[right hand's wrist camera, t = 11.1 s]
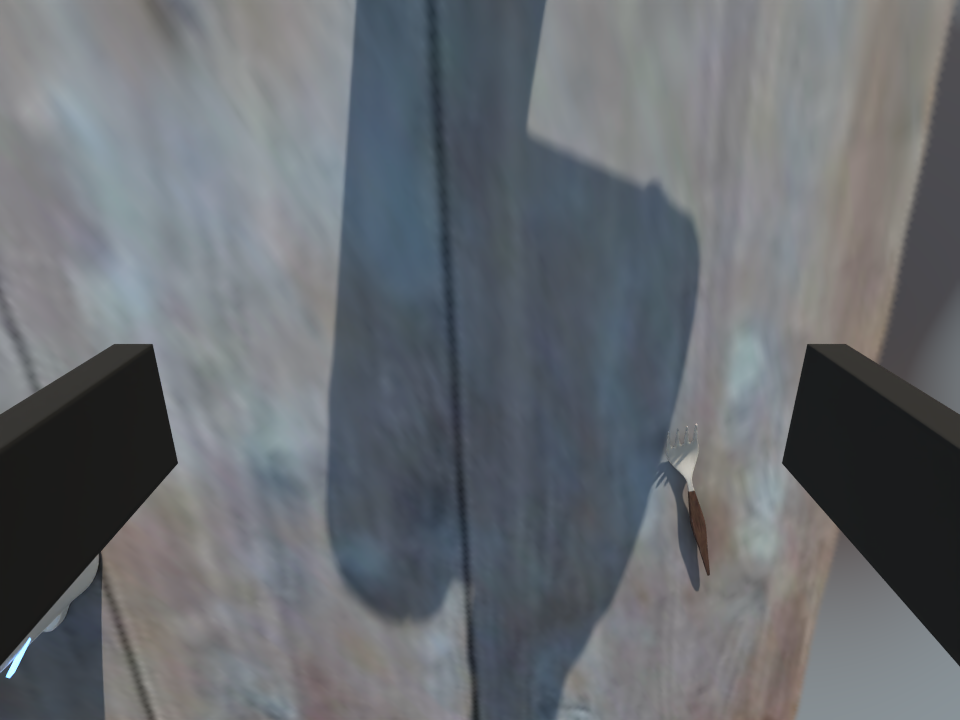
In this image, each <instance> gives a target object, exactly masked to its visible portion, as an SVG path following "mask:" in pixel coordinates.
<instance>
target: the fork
mask: <svg viewBox="0 0 960 720" xmlns="http://www.w3.org/2000/svg"><path fill="white" fill-rule="evenodd" d="M669 433H670V432H669V431H668V435H667V444H666V456H667V459H668V460H669V462H670V463H671V464H672V466H673V467H674V468H676V469H677V470H678V471H679V472H680V473H681V474H682V475H683V476H684V478H685V479H686V481H687V486H688V499H689V514H690V522H691V527H692V530H693V533H694V536H695V539H696V542H697V545H698V547H699V550H700V553H701V556H702V560H703V563H704V566H705V569H706V572H707V575H710V570H709V560H708V549H707V534H706V525H705V521H704V517H703V514H702V511H701V508H700V505H699V502H698V499H697V496H696V494H695V491H694V488H693V484H692V474H693V470H694V467H695V464H696V461H697V457H698V452H699V445H698V438H697V424H696V425H695V430H694V435H693V441H692V442H689V439H688V427H686V431H685V438H684V443H683V444H682V445H681V444H680V441H679V430H678V429H677V433H676V440H675V446H674V447H671V443H670V434H669Z"/></svg>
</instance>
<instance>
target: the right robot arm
mask: <svg viewBox="0 0 960 720" xmlns="http://www.w3.org/2000/svg"><path fill="white" fill-rule="evenodd" d="M177 464H178V461H177V457H176V452H175V447H174V442H173V438H172V433H171V428H170V424H169V419H168V414H167V410H166V405H165V400H164V396H163V391H162V386H161V382H160V377H159V372H158V367H157V363H156V358H155V353H154V349H153V344H114V345H112V346H110V347H109V348H107V349H106V350H104V351H102V352H101V353H99V354H98V355H96V356H94V357H93V358H91V359H89V360H88V361H86V362H85V363H83V364H81V365H80V366H78V367H77V368H75V369H73V370H72V371H70V372H68V373H67V374H65V375H64V376H62V377H60V378H59V379H57V380H55V381H54V382H52V383H51V384H49V385H47V386H46V387H44V388H43V389H41V390H39V391H38V392H36V393H34V394H33V395H31V396H30V397H28V398H26V399H25V400H23V401H22V402H20V403H18V404H17V405H15V406H13V407H12V408H10V409H9V410H7V411H5V412H4V413H2V414H0V666H1V665H2V664H3V663H4V661H5V660H6V659H7V658H8V657H9V656H10V655H11V653H12V652H13V651H14V650H15V649H16V648H17V647H18V645H19V644H20V643H21V642H22V641H23V640H24V639H25V637H26V636H27V635H28V634H29V633H30V632H31V631H32V629H33V628H34V627H35V626H36V625H37V624H38V623H39V621H40V620H41V619H42V618H43V617H44V616H45V615H46V613H47V612H48V611H49V610H50V609H51V608H52V607H53V605H54V604H55V603H56V602H57V601H58V600H59V599H60V597H61V596H62V595H63V594H64V593H65V592H66V591H67V589H68V588H69V587H70V586H71V585H72V584H73V583H74V581H75V580H76V579H77V578H78V577H79V576H80V575H81V573H82V572H83V571H84V570H85V569H86V568H87V567H88V565H89V564H90V563H91V562H92V561H93V560H94V559H95V557H96V556H97V555H98V554H99V553H100V552H101V551H102V549H103V548H104V547H105V546H106V545H107V544H108V543H109V541H110V540H111V539H112V538H113V537H114V536H115V535H116V533H117V532H118V531H119V530H120V529H121V528H122V527H123V525H124V524H125V523H126V522H127V521H128V520H129V519H130V517H131V516H132V515H133V514H134V513H135V512H136V511H137V509H138V508H139V507H140V506H141V505H142V504H143V503H144V501H145V500H146V499H147V498H148V497H149V496H150V495H151V493H152V492H153V491H154V490H155V489H156V488H157V487H158V485H159V484H160V483H161V482H162V481H163V480H164V479H165V477H166V476H167V475H168V474H169V473H170V472H171V471H172V469H173V468H174V467H175V466H176V465H177ZM782 464H783V465H784V466H785V467H786V468H787V469H788V471H789V472H790V473H791V474H792V475H793V476H794V477H795V479H796V480H797V481H798V482H799V483H800V484H801V485H802V487H803V488H804V489H805V490H806V491H807V492H808V493H809V495H810V496H811V497H812V498H813V499H814V500H815V501H816V503H817V504H818V505H819V506H820V507H821V508H822V509H823V511H824V512H825V513H826V514H827V515H828V516H829V517H830V519H831V520H832V521H833V522H834V523H835V524H836V525H837V527H838V528H839V529H840V530H841V531H842V532H843V533H844V535H845V536H846V537H847V538H848V539H849V540H850V541H851V543H852V544H853V545H854V546H855V547H856V548H857V549H858V551H859V552H860V553H861V554H862V555H863V556H864V557H865V558H866V560H867V561H868V562H869V563H870V564H871V565H872V566H873V568H874V569H875V570H876V571H877V572H878V573H879V575H880V576H881V577H882V578H883V579H884V580H885V581H886V583H887V584H888V585H889V586H890V587H891V588H892V589H893V591H894V592H895V593H896V594H897V595H898V596H899V597H900V599H901V600H902V601H903V602H904V603H905V604H906V605H907V607H908V608H909V609H910V610H911V611H912V612H913V613H914V615H915V616H916V617H917V618H918V619H919V620H920V621H921V623H922V624H923V625H924V626H925V627H926V628H927V629H928V631H929V632H930V633H931V634H932V635H933V636H934V637H935V639H936V640H937V641H938V642H939V643H940V644H941V645H942V647H943V648H944V649H945V650H946V651H947V652H948V653H949V655H950V656H951V657H952V658H953V659H954V660H955V661H956V663H957V664H958V665H959V666H960V414H958V413H956V412H955V411H953V410H951V409H950V408H948V407H947V406H945V405H943V404H942V403H940V402H938V401H937V400H935V399H934V398H932V397H930V396H929V395H927V394H926V393H924V392H922V391H921V390H919V389H917V388H916V387H914V386H912V385H911V384H909V383H908V382H906V381H905V380H903V379H901V378H900V377H898V376H896V375H895V374H893V373H892V372H890V371H888V370H887V369H885V368H883V367H882V366H880V365H879V364H877V363H875V362H874V361H872V360H871V359H869V358H867V357H866V356H864V355H862V354H861V353H859V352H858V351H856V350H854V349H853V348H851V347H850V346H848V345H846V344H807V349H806V353H805V358H804V363H803V367H802V372H801V377H800V382H799V386H798V391H797V396H796V400H795V405H794V410H793V414H792V419H791V424H790V428H789V433H788V438H787V442H786V447H785V452H784V457H783V461H782Z"/></svg>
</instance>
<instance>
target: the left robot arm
mask: <svg viewBox="0 0 960 720" xmlns="http://www.w3.org/2000/svg"><path fill="white" fill-rule="evenodd" d="M98 565H99V554H98V555H97V556H96V557H95V559H94V560H93V561H92V562H91V563H90V564H89V565H88V567H87V568H86V569H85V570H84V571H83V572H82V573H81V575H80V576H79V577H78V578H77V579H76V580H75V581H74V583H73V584H72V585H71V586H70V587H69V588H68V589H67V591H66V592H65V593H64V594H63V595H62V596H61V597H60V599H59V600H58V601H57V602H56V603H55V604H54V605H53V607H52V608H51V609H50V610H49V611H48V612H47V613H46V615H45V616H44V617H43V618H42V619H41V620H40V621H39V623H38V624H37V625H36V626H35V627H34V628H33V629H32V631H31V632H30V633H29V634H28V635H27V636H26V637H25V639H24V640H23V641H22V642H21V643H20V644H19V645H18V647H17V648H16V649H15V650H14V651H13V652H12V653H11V655H10V656H9V657H8V658H7V659H6V660H5V661H4V663H3V664H2V665H1V666H0V673H1V672H2V671H3V670H4V669H5V668H6V667H7V666H8V665H9V664H10V663H11V662H12V661H13V660H14V661H13V664H12V666H11V668H10V670H9V672H8V674H7V676H6V677H8V678H10V677H11V676H12V675H13V674H14V672H15V671H16V669H17V667H18V665H19V663H20V660H21V658H22V656H23V654H24V652H25V650H26V648H27V647H28V646H29V645H30V644H31V643H32V642H33V641H34V640H35V639H36V638H37V637H38V636H39V635H40V634H41V633H42V632H50V631H53V630H54V629H55V628H56V627H57V626H58V625H59V624H60V623H61V622H62V621H63V620H64V619H65V617H66V614H67V611H68V608H69V605H70V603H71V602H72V601H73V600H74V599H76V598H77V597H78V596H79V595H80V594H81V593H83V592H84V591H85V590H86V589H87V588H88V587H89V586H90V584H91V583H92V581H93V580H94V578H95V575H96V573H97V570H98Z"/></svg>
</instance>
